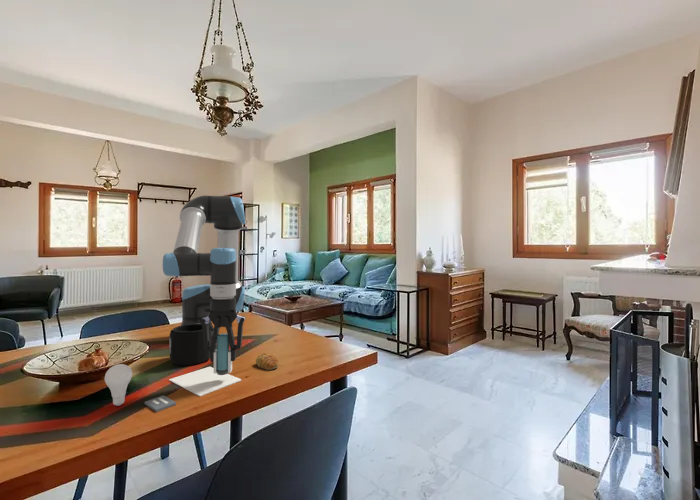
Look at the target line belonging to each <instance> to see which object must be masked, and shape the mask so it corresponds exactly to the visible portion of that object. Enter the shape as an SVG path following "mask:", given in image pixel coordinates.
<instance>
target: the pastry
mask: <svg viewBox="0 0 700 500" xmlns="http://www.w3.org/2000/svg"><path fill="white" fill-rule="evenodd" d="M255 363H256V366H257V367H258V368H261V369H262V370H266V371H267V370H268V371H271V370H274V369H277V368H279V365H280V364H279V360H278V358H277V357H276V356H275V355H273V354H271V353H270V354H269V353H268V352H263V353H261V354H260V355H258V356H257V358H256V359H255Z"/></svg>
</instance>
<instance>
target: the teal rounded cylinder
mask: <svg viewBox="0 0 700 500" xmlns="http://www.w3.org/2000/svg"><path fill="white" fill-rule="evenodd" d="M216 350H217V374H218V375H226V374H229V373H228V351H229V350H230V345H229V339H228V334H227V333H226V332H225V333H219V334H218V335H217V344H216Z"/></svg>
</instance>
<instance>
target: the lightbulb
mask: <svg viewBox="0 0 700 500" xmlns="http://www.w3.org/2000/svg"><path fill="white" fill-rule="evenodd" d="M132 379H133V371H132V368H131V367H130V366H128V365H127V364H123V363H118V364H115V365H113V366H111V367H110V368H109V369H108V370H106V372H105V375H104V382H105V384H106V386H107V387H108V388H109V390H110V393H111V397H112V404H113V405H114V406H116V407H118V406H119V407H120V406H121V405H122V404H124V403H125V401H126V400H125V399H126V398H125V397H126V394H127V388H128V385H129V384H130V382H131V381H132Z"/></svg>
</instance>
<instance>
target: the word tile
mask: <svg viewBox="0 0 700 500" xmlns="http://www.w3.org/2000/svg"><path fill="white" fill-rule="evenodd" d="M144 405H145V406H147V407H148V408H150V409H151V410H152V411H154V412H156V413H158V412H160V411H163V410H166V409H168V408H172V407H173V406H176V405H177V402H176V401H175V400H173V399H171V398H169V397H168V396H166V395H160V396H158V397H154V398H151V399H149V400H146V401H144Z"/></svg>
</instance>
